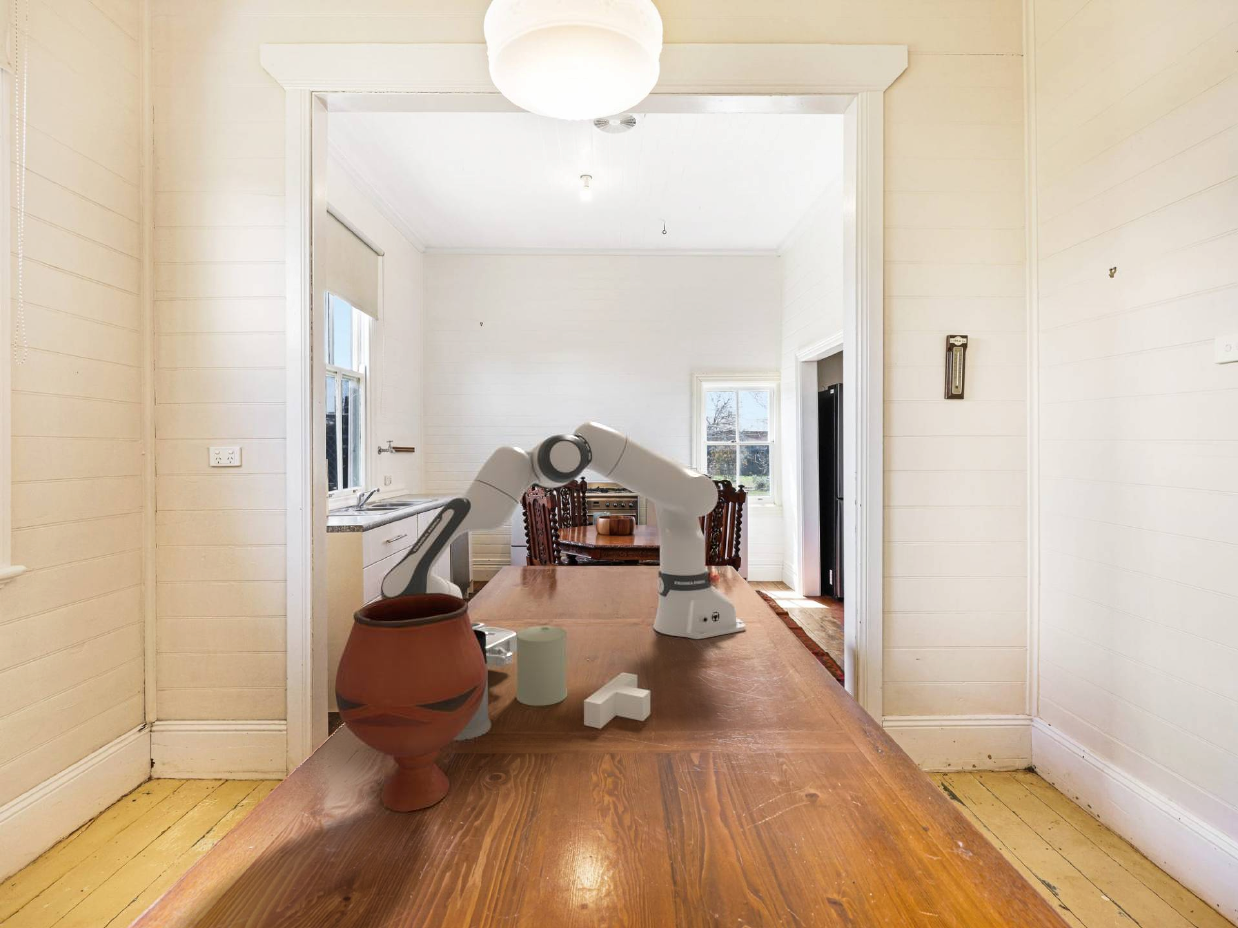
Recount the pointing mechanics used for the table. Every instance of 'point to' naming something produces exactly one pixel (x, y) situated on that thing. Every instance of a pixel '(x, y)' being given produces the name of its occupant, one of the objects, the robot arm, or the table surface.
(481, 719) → the glass holder
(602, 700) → the T stop
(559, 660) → the can
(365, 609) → the goblet
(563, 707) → the table surface
